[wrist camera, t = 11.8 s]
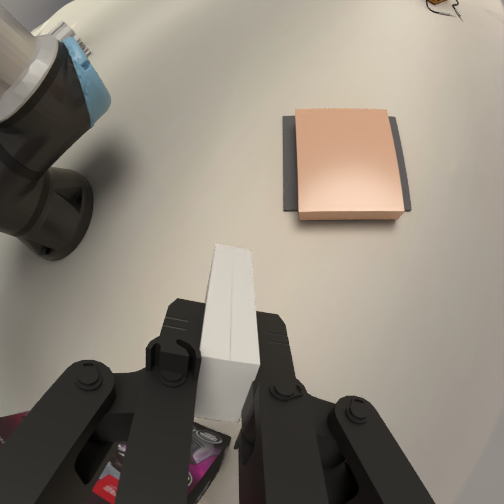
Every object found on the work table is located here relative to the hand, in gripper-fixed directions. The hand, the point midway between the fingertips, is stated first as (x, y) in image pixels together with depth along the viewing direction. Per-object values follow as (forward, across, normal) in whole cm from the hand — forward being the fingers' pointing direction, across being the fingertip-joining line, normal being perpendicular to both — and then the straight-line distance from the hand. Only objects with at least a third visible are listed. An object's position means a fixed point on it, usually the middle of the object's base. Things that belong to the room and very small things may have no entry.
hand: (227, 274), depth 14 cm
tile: (+20, +14, -1) cm, 25 cm away
